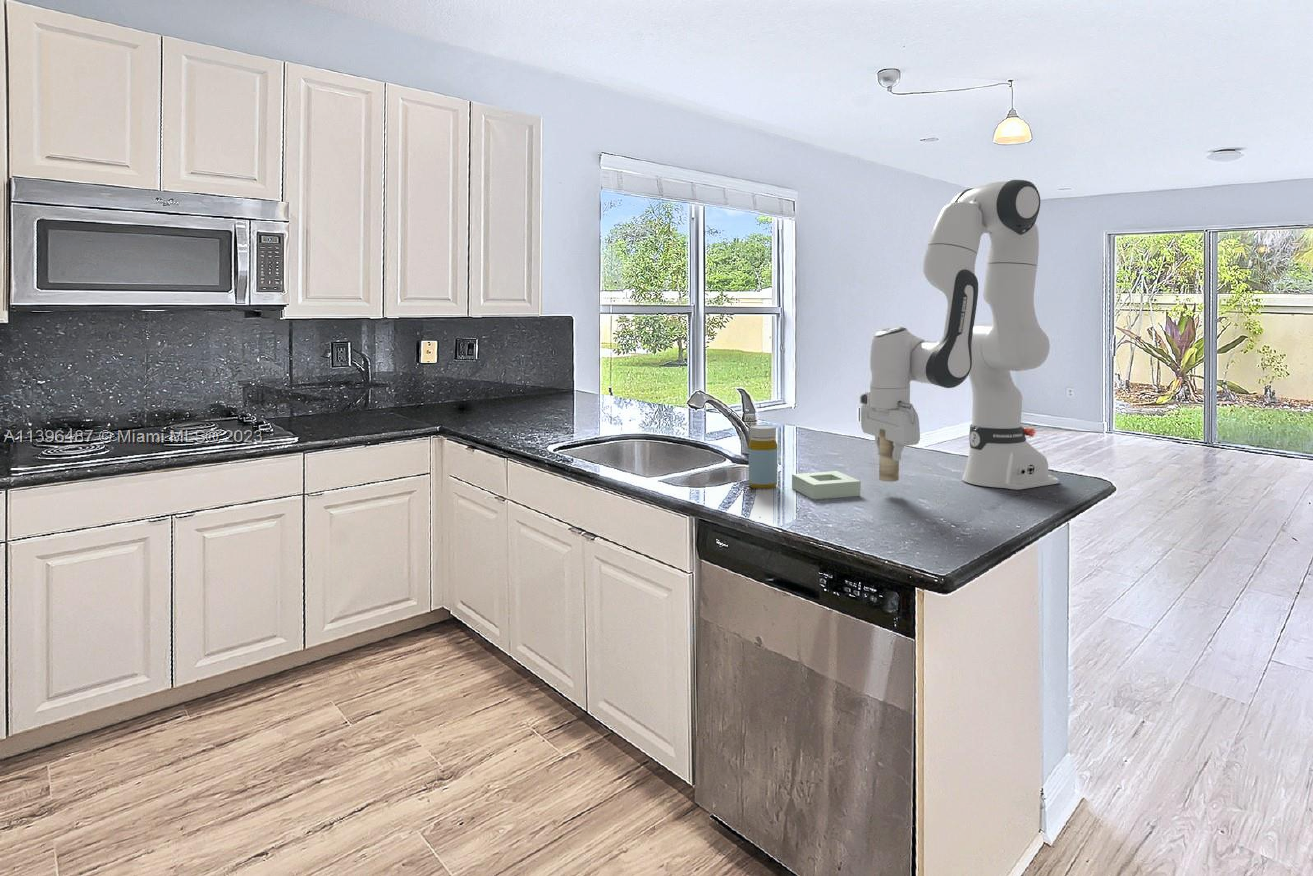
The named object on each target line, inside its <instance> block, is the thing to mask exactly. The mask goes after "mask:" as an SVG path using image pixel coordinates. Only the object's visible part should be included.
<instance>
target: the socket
mask: <svg viewBox="0 0 1313 876" xmlns="http://www.w3.org/2000/svg"><path fill="white" fill-rule="evenodd" d="M861 483H862V482H861V480H859V479H857V478H854V477H851V476H849V475H847V474H845V473H843V472H840V471H838V470H832V471H817V472H804V473H794V474H793V473H792V474H791V489H793V490H795V491H797V492H798V493H800V494H802V495H803V496H805V497H807V498H809V499H812V500H813V499H814V500H823V499H824V500H825V499H827V500H828V499H837V498H838V499H839V498H850V497H851V498H852V497H860V496H861V492H862V491H861V487H862V486H861V485H862V484H861Z"/></svg>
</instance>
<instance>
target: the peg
mask: <svg viewBox="0 0 1313 876" xmlns="http://www.w3.org/2000/svg"><path fill="white" fill-rule="evenodd" d="M893 450H894V446H893V441H889V440H887V439H886V438H885V430H882V429H880V430H879V455H878V457H879V458H878V459H879V461H878V480H879V481H881V482H887V483H888V482H890V483H891V482H892V483H893V482H898V481H899V480H900V479H899V478H900V473H899V472H900V469H899V468H900V466H899V465H900V461H894V460H892V459H891V452H893Z"/></svg>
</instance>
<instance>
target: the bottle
mask: <svg viewBox="0 0 1313 876" xmlns="http://www.w3.org/2000/svg"><path fill="white" fill-rule="evenodd" d="M776 435H777V427H776V426H775V425H772V424H754V425H751V426H750V441H749V444H748V485H749V486H750V487H751V488H752V489H757V490H770V489H774V488H776V486H777V485H778V453H779V452H778V449H779V448H778V443H777V441H776V439H777V437H776Z"/></svg>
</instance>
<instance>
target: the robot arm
mask: <svg viewBox="0 0 1313 876" xmlns="http://www.w3.org/2000/svg"><path fill="white" fill-rule="evenodd" d="M1040 208H1041V196H1040V192H1039V191H1038V189H1037V186H1036V185H1035V184H1034V183H1033V182H1032V181H1028V180H1024V179H1012V180H1009V181H1008V180H1007V181H996V182H995V181H994V182H990V183H987V184H985V185H982V186H977V187H974V188H973V187H970V188H967V189H966V190H963V191H960V192H959V193H958V194H955V196H954V197H953V198H952V200H951V201H950V203H948V204H946V205H945V206H944V207H943V208H942V209H941V210H940V211H939V212H940V213H939V214H938V217H937V219H936V221H935V224H934V225H933V228H932V231H931V234H930V235H929V236H930V237H929V239H928V244H927V247H926V250H925V255H924V257H923V258H924V259H923V266H922V269H923V271H922V272H923V275H924V277H925V278H926V280H927V281H928V283H929V284H930V285H932V287H934V289H935V288H936V290H937V289H938V290H939V291H941V292H942V293H943V294H944V295H945V297H946V300H947V310H946V316H945V322H944V329H943V335H942V338H941V339H940V340H939V341H931V340H925V339H924V338H921V337H918V336H916V335H914V334H912V332H909V330H908V328H906V327H902V326H901V327H900V326H896V327H888V328H884V329H881V330H879V331H877V332H876V333H875V334H874V335H873V338H872V341H871V344H870V354H869V355H870V357H869V370H870V373H871V381H870V383H869V390H868V391H866V392H864V393H862V394H860V395H859V402H860V404H861V406H860V426H861V429H862V432H863V433H864V434H867V435H871V436H874V441H875V444H876V447H877V455H878V456H879V430H880V429H882V430H885V438H886V439H887V440H889V441H893V446H894V450H893V452H891V459H892V460H894V461H899V462H900V461H901V460H902V452H903V451H904V448H905V446H913V445H914V446H915V445H918V444H919V443H920V441H921V430H920V419H919V414H918V413H917V411H916V409H915V407H914V405H913V404H912V403H911V382H915V383H917V382H919V383H921V384H929V385H933V386H934V385H935V386H938V387H941V388H945V389H953V388H957V387H958V386H959V385H962V383H964V381H965V380H966V379H967V378H968V377H969V381H970V385H971V386H970V387H971V391H972V414H971V415H972V419H971V421H972V422H971V424H970V426H969V435H968V436H969V438H968V439H969V451H968V457H967V462H966V466H965V469H964V472H963V475H962V478H961V479H962V481H963V482H965V483H968V484H971V485H976V486H981V487H987V488H988V487H989V488H1000V489H1008V490H1009V489H1010V490H1024V489H1031V488H1036V487H1037V488H1038V487H1044V486H1045V487H1046V486H1051V485H1056V484H1059V483H1060V482H1059V478H1058V477H1056V476H1053V475H1051V474H1049V473H1050V472H1049V463H1048V459H1047V457H1046V456H1045V455H1044V454H1043V453H1041V452H1040V451H1039V450H1038V449H1036V448H1035V447H1034V446H1033V445H1031V444H1030V443H1029V442H1028V441H1027V438H1026V436H1029V437H1030V438H1032V437H1035V435H1036V430H1035V428H1034V427H1033V428H1030V427H1026V428H1024V427H1023V426H1022V412H1023V411H1022V408H1023V396H1022V392H1021V391H1020V389H1019V388H1018V387H1017V386H1016V385H1015V383H1014V381H1013V378H1012V376H1011V375H1012V374H1011V372H1012V371H1013V372H1022V371H1029V370H1034V369H1036V368H1038V367H1040V366H1042V365H1044V363H1045V362H1046V360H1047V359H1048V356H1049V353H1050V348H1051V347H1050V346H1051V345H1050V340H1049V337H1048V335H1047V334H1046V332H1045V331H1044V330H1043V329H1042V328H1041V326H1040V324H1039V321H1038V319H1037V315H1036V311H1035V309H1036V308H1035V299H1034V295H1035V286H1036V277H1037V273H1038V272H1037V271H1038V263H1039V252H1040V250H1039V249H1040V247H1039V246H1040V245H1039V244H1040V243H1039V242H1040V241H1039V240H1040V237H1039V227H1038V226H1037V223H1036V221H1037V219H1038V215H1039V214H1040ZM984 234H988V235H989V238H990V246H989V251H988V256H987V263H986V268H985V269H986V270H985V277H984V285H983V291H982V297H983V299H984V301H985V303H986V304H988V306H989V308H990V310H991V315H992V321H993V322H992V323H978V324H975V321H976V314H977V313H976V312H977V306H978V305H977V304H978V297H979V281H978V278H977V275H975V274H976V273H975V269H976V268H975V267H976V266H975V265H976V260H977V256H978V253H979V248H980V243H981V240H982V239H981V238H982V235H984Z"/></svg>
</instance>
